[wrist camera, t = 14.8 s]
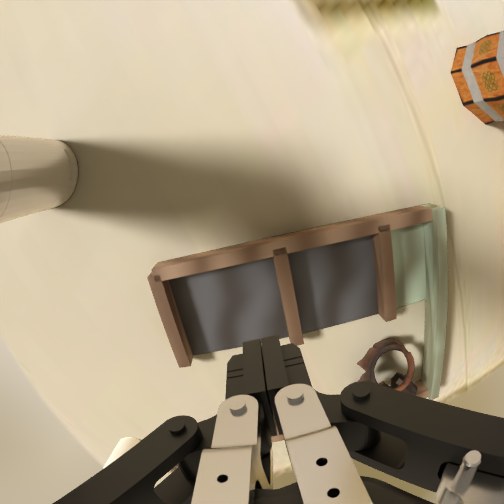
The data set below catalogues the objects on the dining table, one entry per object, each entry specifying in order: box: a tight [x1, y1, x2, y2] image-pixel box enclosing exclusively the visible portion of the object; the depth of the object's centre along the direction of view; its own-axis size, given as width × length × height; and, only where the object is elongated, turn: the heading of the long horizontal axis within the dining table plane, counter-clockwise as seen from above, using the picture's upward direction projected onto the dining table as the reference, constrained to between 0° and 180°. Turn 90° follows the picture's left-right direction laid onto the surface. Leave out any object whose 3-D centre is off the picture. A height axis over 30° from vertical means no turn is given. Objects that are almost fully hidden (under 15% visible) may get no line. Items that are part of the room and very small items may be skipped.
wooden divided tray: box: [147, 204, 448, 442], centre depth 41 cm, size 38×31×4 cm
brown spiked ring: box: [354, 339, 418, 396], centre depth 43 cm, size 12×10×8 cm
